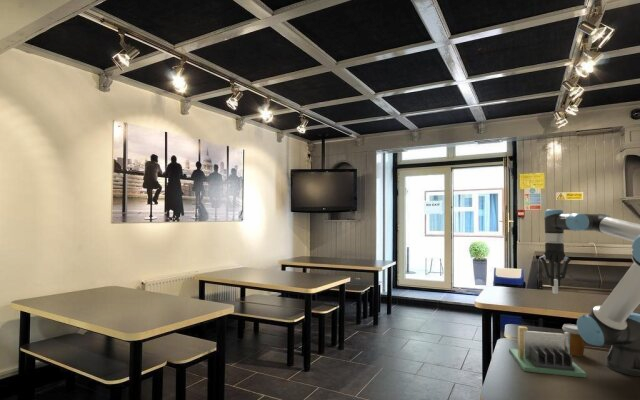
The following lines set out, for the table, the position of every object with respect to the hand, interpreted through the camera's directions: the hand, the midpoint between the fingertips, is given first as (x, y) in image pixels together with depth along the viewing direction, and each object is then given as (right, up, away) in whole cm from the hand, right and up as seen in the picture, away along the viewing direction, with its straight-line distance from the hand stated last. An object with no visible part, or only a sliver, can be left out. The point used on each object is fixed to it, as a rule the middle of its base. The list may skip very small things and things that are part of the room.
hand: (555, 293), depth 175 cm
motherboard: (-15, -25, -17) cm, 34 cm away
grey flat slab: (-16, -23, -17) cm, 33 cm away
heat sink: (-16, -23, -21) cm, 36 cm away
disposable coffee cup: (+6, -26, -5) cm, 27 cm away
